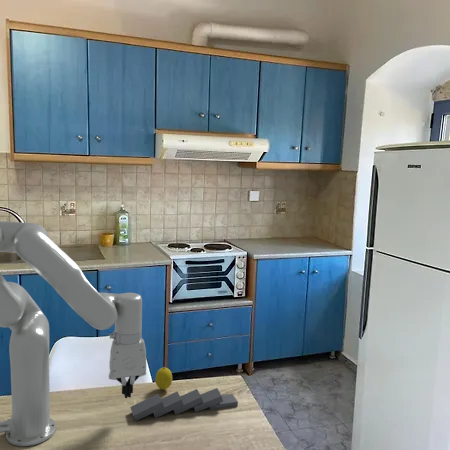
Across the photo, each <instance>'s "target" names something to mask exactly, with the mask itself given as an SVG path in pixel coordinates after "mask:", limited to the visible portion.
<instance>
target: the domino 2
mask: <svg viewBox="0 0 450 450" xmlns="http://www.w3.org/2000/svg"><path fill="white" fill-rule="evenodd" d="M180 396H181V395H180V394H179V392H178V391H175V392H173V393H171V394H168V395H166V396H164V397H162V398H160V399H161V401H162V403H163V406H164V408H162V409H160V410H158V411H156V412H154V413H153V416H154V418H155V419H157V418H159V417H161V416H164V415H165V414H168V413H169V412H172V411H174V409H176V408H178V407H180V406H182V405H183V402H182V399H181V397H180Z"/></svg>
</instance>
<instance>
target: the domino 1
mask: <svg viewBox="0 0 450 450" xmlns="http://www.w3.org/2000/svg"><path fill="white" fill-rule="evenodd" d="M161 399H162V398H161V397H160V395H159V393H157V394H154V395H153V396H151V397H148V398H146V399H144V400H142V401H139V402H138V403H136V404H134V405H132V406H130V407H129V408H130V410H131V414H132V416H133V419H134V422H137V421H139V420H141V419H143V418H145V417H147V416H150V415H151V414H154V412H156V411H158V410H160V409H162V408H164V406H163V403H162V401H161Z"/></svg>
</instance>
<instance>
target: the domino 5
mask: <svg viewBox="0 0 450 450" xmlns="http://www.w3.org/2000/svg"><path fill="white" fill-rule="evenodd" d="M221 396H222V400H223V402H221V403H218V404H216V405H213V406H211V407H208V408H209V410H210V411H213V410H214V411H215V410H219V409H221V410H222V409H227V408H235V407H238V404H239V401H238V399H237V398H236V397H235V395H234V394H233V393H228V394H223V395H222V394H221Z"/></svg>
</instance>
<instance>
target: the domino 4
mask: <svg viewBox="0 0 450 450" xmlns="http://www.w3.org/2000/svg"><path fill="white" fill-rule="evenodd" d="M200 395H201V397H202V400H203V403H201V404H198V405H196V406H194V407H193V409H194V412H195V413H198V412H201V411H203V410H205V409H208V408H209V407H211V406H213V405H216V404H218V403H221V402H223V400H222V396H221V395H222V393H221V392H220V391H219V388H218V387H216V388H213V389H211V390H208V391H206V392H203V393H200Z"/></svg>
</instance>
